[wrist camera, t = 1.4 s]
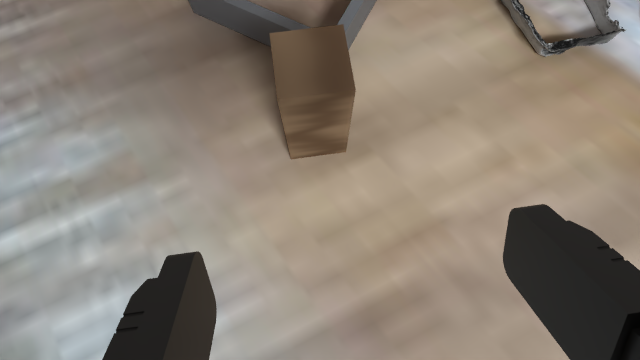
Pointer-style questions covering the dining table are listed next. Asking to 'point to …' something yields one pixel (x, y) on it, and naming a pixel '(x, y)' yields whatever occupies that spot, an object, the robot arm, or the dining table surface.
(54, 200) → the dining table surface
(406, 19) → the dining table surface
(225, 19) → the box
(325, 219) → the dining table surface
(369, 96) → the dining table surface
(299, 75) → the walnut block
